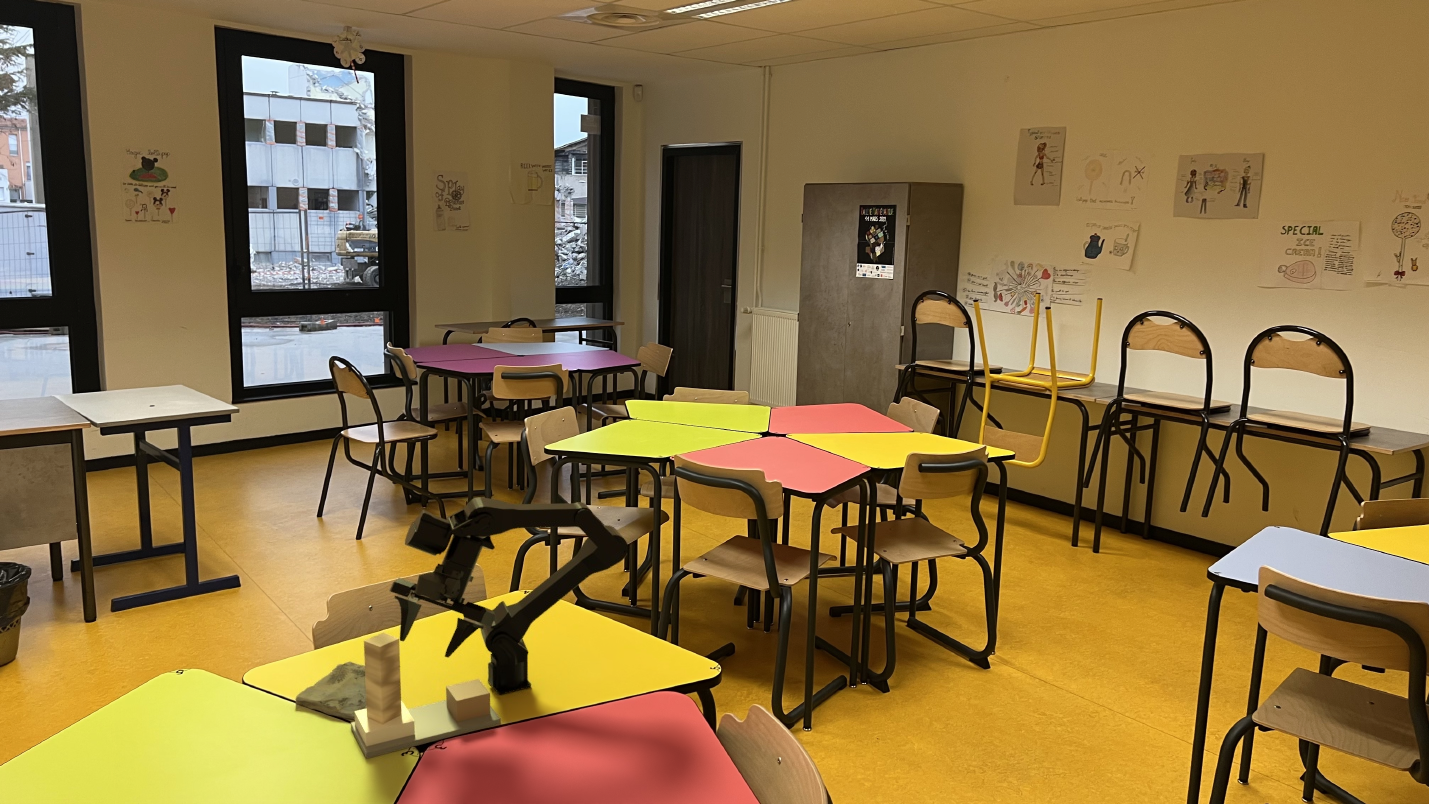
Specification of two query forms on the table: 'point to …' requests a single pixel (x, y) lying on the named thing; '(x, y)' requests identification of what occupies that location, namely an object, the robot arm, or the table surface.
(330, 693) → the fossil rock
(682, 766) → the table surface
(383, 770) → the table surface
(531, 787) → the table surface
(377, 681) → the beech pillar
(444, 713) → the building board
